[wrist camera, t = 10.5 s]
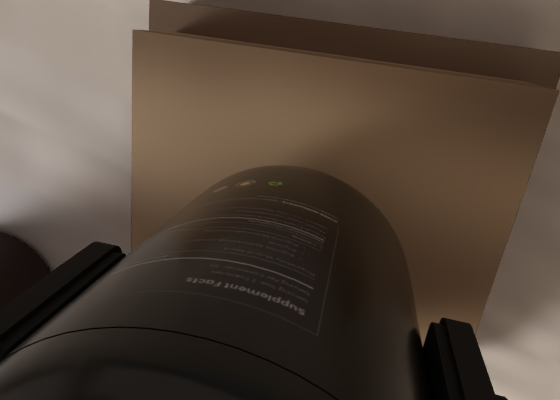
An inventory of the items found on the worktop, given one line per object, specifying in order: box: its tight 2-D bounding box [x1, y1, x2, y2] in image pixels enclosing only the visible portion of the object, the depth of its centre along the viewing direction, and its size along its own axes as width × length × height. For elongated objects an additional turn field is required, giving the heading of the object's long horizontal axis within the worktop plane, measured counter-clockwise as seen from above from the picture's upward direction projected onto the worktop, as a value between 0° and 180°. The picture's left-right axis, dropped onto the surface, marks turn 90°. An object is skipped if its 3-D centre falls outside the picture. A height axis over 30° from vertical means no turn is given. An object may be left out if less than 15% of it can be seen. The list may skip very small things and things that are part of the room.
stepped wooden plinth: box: [131, 0, 560, 347], centre depth 17 cm, size 14×14×6 cm
